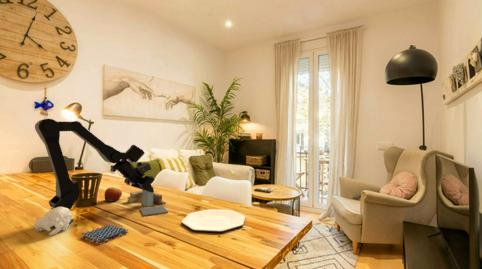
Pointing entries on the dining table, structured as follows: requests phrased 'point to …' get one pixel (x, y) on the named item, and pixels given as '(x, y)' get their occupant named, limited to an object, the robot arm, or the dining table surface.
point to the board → (147, 198)
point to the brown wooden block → (158, 199)
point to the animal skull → (54, 220)
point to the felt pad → (153, 211)
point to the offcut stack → (135, 197)
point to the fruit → (112, 194)
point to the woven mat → (104, 234)
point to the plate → (213, 220)
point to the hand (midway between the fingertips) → (150, 191)
